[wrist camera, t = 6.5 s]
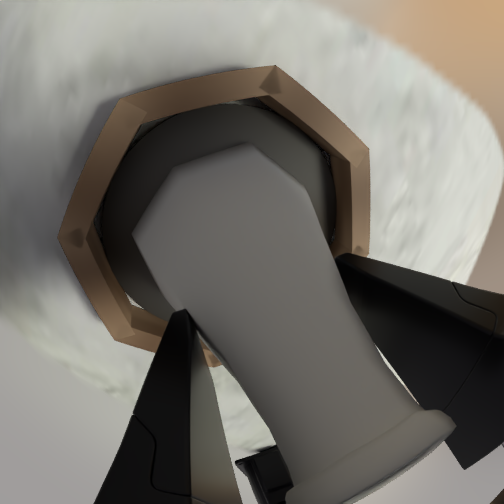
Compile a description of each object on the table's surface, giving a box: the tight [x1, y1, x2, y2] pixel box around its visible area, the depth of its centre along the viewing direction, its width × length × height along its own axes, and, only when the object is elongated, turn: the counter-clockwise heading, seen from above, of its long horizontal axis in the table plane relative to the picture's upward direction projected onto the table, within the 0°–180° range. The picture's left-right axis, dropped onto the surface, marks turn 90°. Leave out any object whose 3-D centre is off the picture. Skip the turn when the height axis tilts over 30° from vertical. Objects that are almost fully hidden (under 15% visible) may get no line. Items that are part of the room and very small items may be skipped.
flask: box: [132, 142, 456, 504], centre depth 7 cm, size 7×7×10 cm
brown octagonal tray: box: [57, 65, 370, 368], centre depth 11 cm, size 12×12×2 cm
